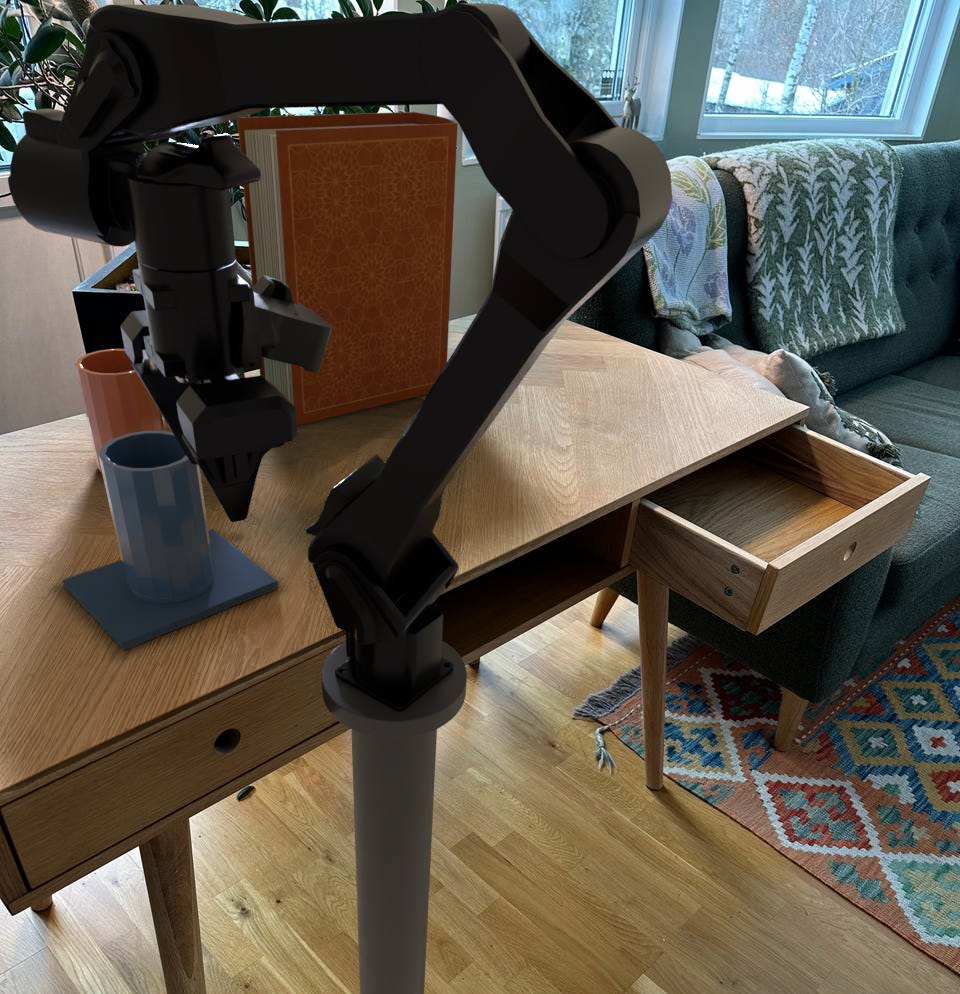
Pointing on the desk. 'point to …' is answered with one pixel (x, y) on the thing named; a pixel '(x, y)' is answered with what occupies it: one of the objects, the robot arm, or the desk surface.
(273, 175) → the book
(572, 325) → the desk surface
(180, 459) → the blue cup
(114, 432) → the terracotta cup
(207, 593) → the blue mat
